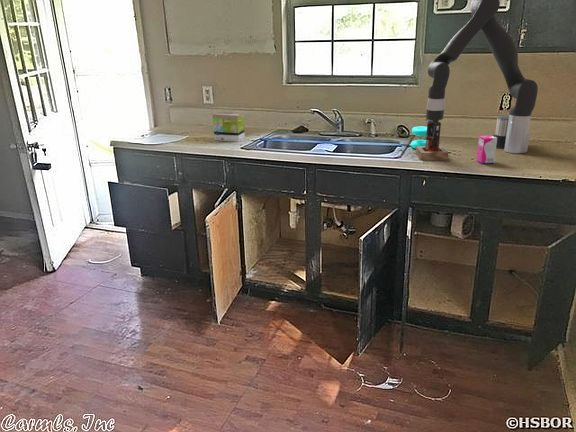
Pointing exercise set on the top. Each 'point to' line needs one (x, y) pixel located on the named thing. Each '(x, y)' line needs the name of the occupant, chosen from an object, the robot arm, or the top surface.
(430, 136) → the deodorant
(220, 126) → the tea box
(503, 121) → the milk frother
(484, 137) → the supplement box
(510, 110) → the robot arm
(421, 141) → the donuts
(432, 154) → the collar block
